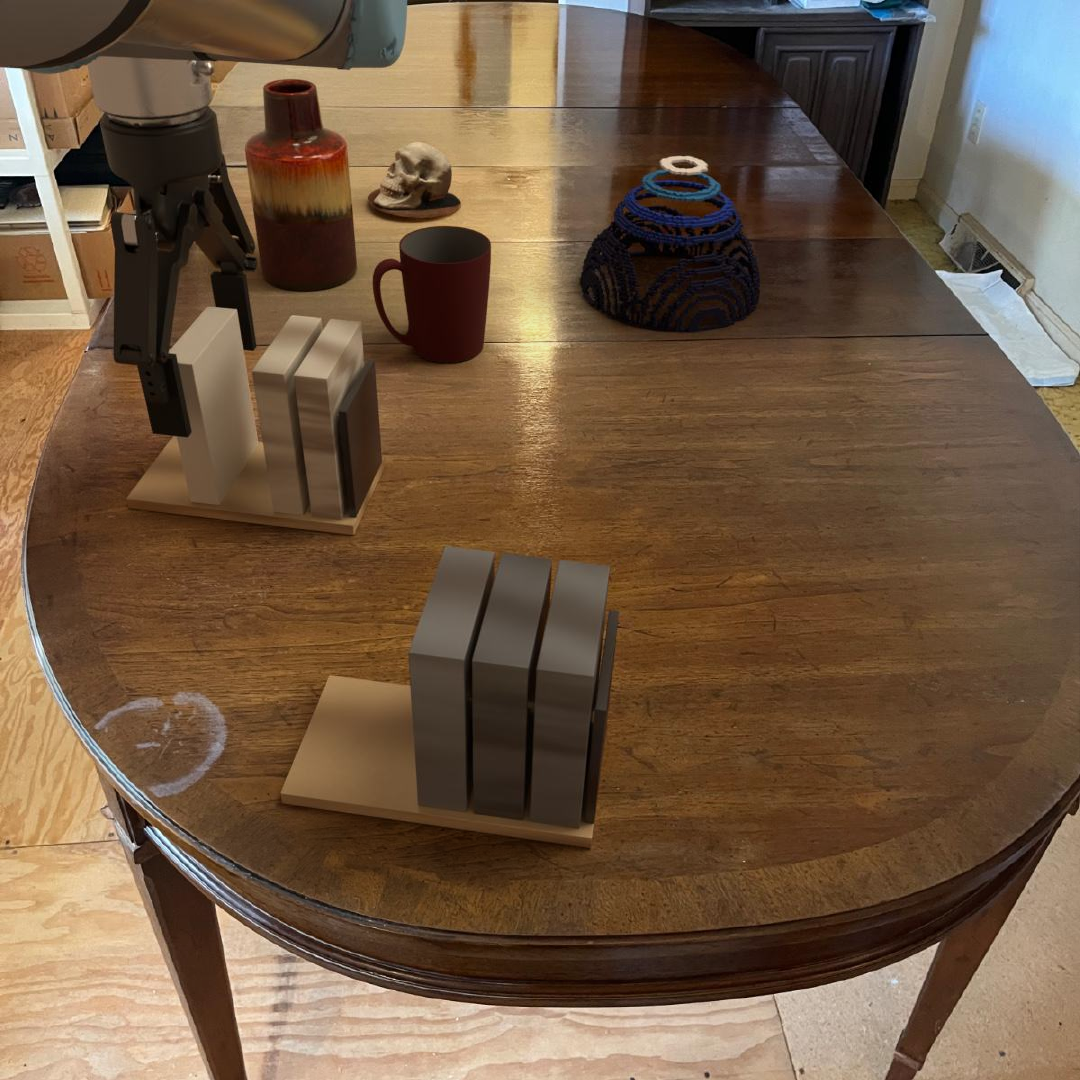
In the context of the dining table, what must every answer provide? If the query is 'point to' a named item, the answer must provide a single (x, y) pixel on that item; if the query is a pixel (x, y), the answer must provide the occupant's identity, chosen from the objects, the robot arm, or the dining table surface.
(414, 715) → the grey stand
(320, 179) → the vase
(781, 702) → the dining table surface
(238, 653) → the dining table surface
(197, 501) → the white book
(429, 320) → the mug
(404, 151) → the skull
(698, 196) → the decorative bowl
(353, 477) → the beige stand
